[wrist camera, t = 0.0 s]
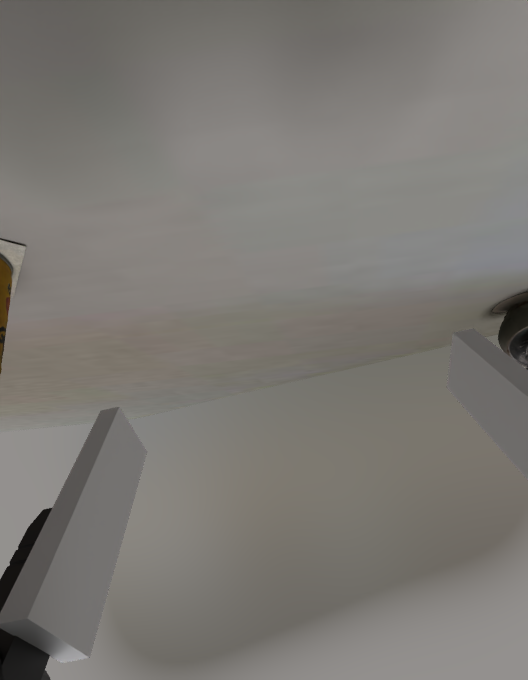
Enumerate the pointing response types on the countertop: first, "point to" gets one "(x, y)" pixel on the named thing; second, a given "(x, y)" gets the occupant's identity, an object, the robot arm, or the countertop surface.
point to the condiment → (8, 282)
